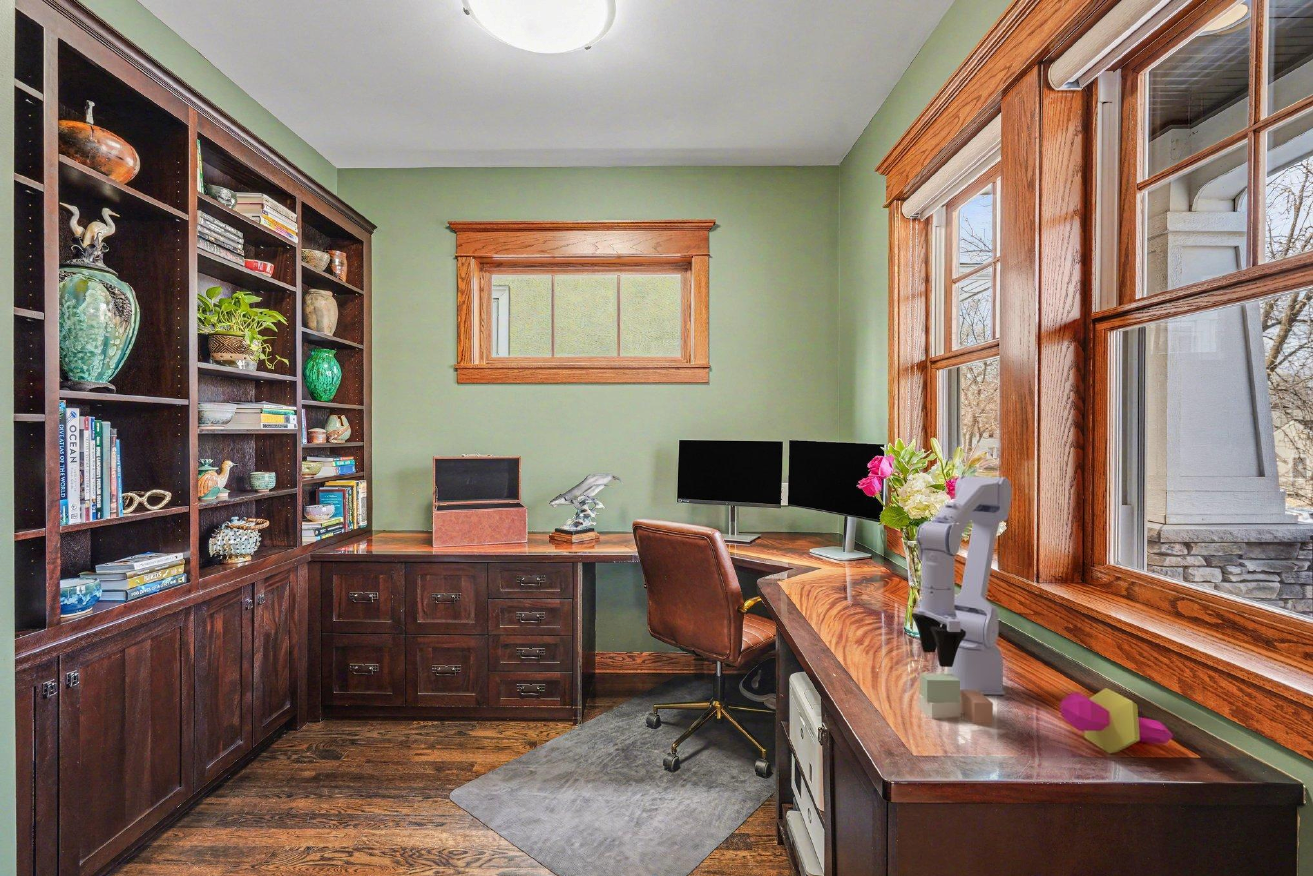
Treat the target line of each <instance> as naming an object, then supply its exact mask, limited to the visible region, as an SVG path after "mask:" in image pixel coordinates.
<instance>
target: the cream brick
mask: <svg viewBox="0 0 1313 876" xmlns="http://www.w3.org/2000/svg"><path fill="white" fill-rule="evenodd" d="M918 711H920V712H921V713H923V714H924V715H926V716H927V717H929V718H930V719H932V720H936V719H945V718H956V717H957V718H958V717H961V716H962V711H961V701H960V702H927V701H926V700H925V699H924V698H923V697H922V696H921V695H920V694H918Z"/></svg>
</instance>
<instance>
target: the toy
mask: <svg viewBox="0 0 1313 876" xmlns="http://www.w3.org/2000/svg"><path fill="white" fill-rule="evenodd" d="M1060 716H1061V717H1062V718H1063V719H1064V720H1065V721H1066V722H1068V723H1069V724H1070V725H1072V727H1074V728H1075V729H1076V730H1077V731H1081V732H1082V731H1083V732H1084V738H1085V739H1087V740H1088V741H1089V742H1091V743H1093V744H1094V745H1095V746H1097V747H1099V748H1101V750H1104V751H1105V752H1106V753H1108V754H1114V753H1118V752H1120V751H1122V750H1124V749H1126V748H1128V747H1130V746H1131V745H1133V744H1135V743H1138V742H1142V743H1148V744H1164V745H1165V744H1167V743H1168V742H1170V741H1171V739H1172V738H1173V737H1174V735H1173V734H1172V733H1171V731H1170V730H1169V729H1168V728H1167V727H1166V725H1164V723H1162V722H1160V721H1159V720H1156V719H1155V720H1154V719H1150V718H1144V717H1139V712H1138V704H1137V703H1135V702H1134V701H1133V700H1131V699H1128V698H1127V697H1125V696H1123V695H1122V694H1119V693H1117V692H1116V691H1113V690H1112V689H1110V688H1107V687H1105V688H1104V689H1102V690H1100V691H1099V692H1097V693H1096V694H1094V695H1093V696H1090V697H1087V696H1085V695H1083V694H1081V693H1080V692H1074V693H1070V694H1068V695H1067V696H1066V697H1064V698H1063V699H1062V700H1061V701H1060Z"/></svg>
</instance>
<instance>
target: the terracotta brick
mask: <svg viewBox="0 0 1313 876" xmlns="http://www.w3.org/2000/svg"><path fill="white" fill-rule="evenodd" d="M960 701H961V713H963V715H964V716H965V717H966V718H967V719H969V720H970V722H972V723H973V725H986V726H987V725H990V726H993V720H994V719H993V715H994V713H993V709H994V707H993V706H994V703H993V702H992V701H991V700H990V699H988V698H987V696H985V694H982V693H981V692H980V691H978V690H966V689H960Z"/></svg>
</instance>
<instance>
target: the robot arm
mask: <svg viewBox="0 0 1313 876" xmlns="http://www.w3.org/2000/svg"><path fill="white" fill-rule="evenodd" d="M954 485H955V486H954V495H955V497H954V499H953V501H952V502H951V501H950V502H948V501H947V502H946V503H945V504H944V505H943V506H941V508H940V509H939V510H938V512H937V513H936V514H935V515H934V516H933V518H932V519H931V520H930V521H927V520H926V521H924V522H923V523H920V524H919V526H918V528H917V532H916V536H915V539H916V540H915V542H916V543H915V544H916V548H917V551H918V560H919V561H920V562H921V573H920V574H921V579H920V582H921V587H920V588H921V591H920V592H921V593H920V594H921V595H920V598H921V599H917V602H916V605H917V607H915V608H914V612H913V613H912V612H911V617H912V619H913V621H914V623H915V626H916V629H917V631H918V635H919V640H920V644H921V649H922V651H923V653H937V661H938V665H939V666H940V667H941V668H949V669H948V670H949V671H948V674H953V675H954V676H956V677H957V678H958V679H959V680H960V689H966V690H978V691H980V692H981V693H982V694H983V695H998V696H999V695H1005V691H1004V659H1003V655H1002V652H1001V650H1000V648H999V647H998V646H997V645H996V644H997V641H998V638H999V630H1000V629H999V618H1000V616H999V612H998V610H997V608H996V607H995V606H994V605H993V604H992V603H990V601H988V600H987V595H988V587H989V582H990V575H991V570H992V564H993V557H994V551H995V545H996V539H997V534H998V530H999V527H1000V523H1002V522H1004V521H1005V522H1006V520H1008V518H1009V514H1010V512H1011V511H1010V510H1011V506H1012V505H1011V504H1012V500H1013V499H1012V498H1013V492H1012V484H1011V481H1010V480H1009V479H1008V478H1007V477H1006V476H1002V477H989V476H968V475H965V474H964V475H963V474H961V475H960V476H959V477H958V478H957V479H956V482H955V484H954ZM971 522H972V525H971V532H970V538H969V544H968V548H967V553H966V555H967V556H966V561H965V566H964V571H963V577H962V583H961V587H960V588H961V589H960V592H959V593H958V594H956V592H955V588H956V586H955V585H956V584H955V582H956V581H955V580H956V577H955V576H956V575H955V574H956V555H957V554H958V553H959V551H960V547H961V543H962V540H963V534H964V532H965V531H966V529H967V528H968V527H969V526H970V523H971ZM955 594H956V595H955ZM936 651H937V652H936Z"/></svg>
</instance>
